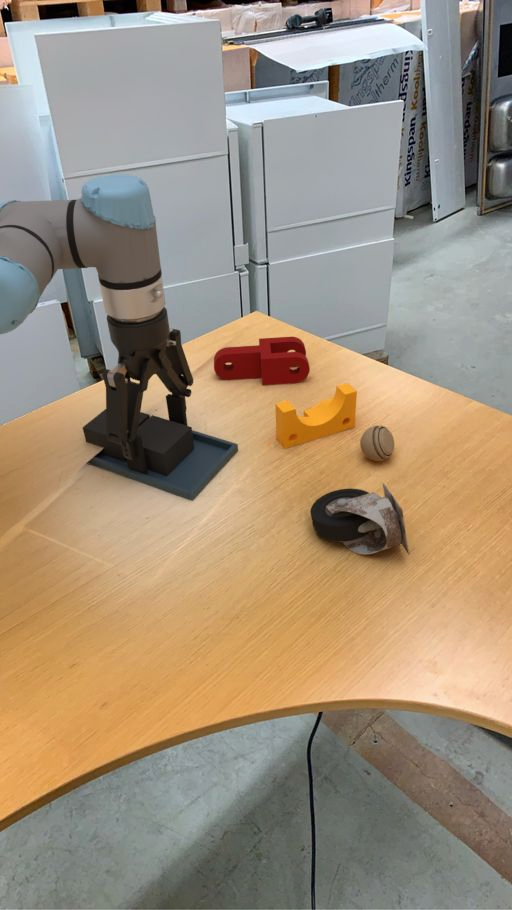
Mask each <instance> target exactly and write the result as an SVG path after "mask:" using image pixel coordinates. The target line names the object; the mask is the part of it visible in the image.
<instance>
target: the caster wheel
mask: <svg viewBox="0 0 512 910" xmlns="http://www.w3.org/2000/svg"><path fill="white" fill-rule="evenodd" d="M382 488H383V494H384V496H381V495H380V494H378V493H376V492H373V491H372V492H368V491H366V490H364V489H360V488H341V489H337V490H336V489H335V490H333V491H330V492H327V493H325V494H323V495H322V496H320V497H319V498H317V499H316V500H315V501H314V502H313V504H312V505H311V507H310V511H309V512H310V518H311V522H312V526H313V530H314V532H315V534H316V535H317V536H319V537H320V538H321V539H323V540H326V541H330V542H337V543H343V545H344V546H345V547H346V548H347V550H349V551H351V552H352V553H355V554H357V555H371V554H375V553H379V552H382V551H386V550H389V549H393V548H395V547H399V546H401V547H403V549H404V551H405V552H406V554H407V555H410V550H409V544H408V543H409V542H408V538H407V530H406V525H405V518H404V511H403V508H402V506H401V505H400V504H399V502H398V501H397V500H396V498H395V497H394V495H393V494H392V493H391V491H390V490H389V489H388V487H387V486H386V484H385V483H384V482H382Z"/></svg>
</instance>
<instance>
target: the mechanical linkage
mask: <svg viewBox="0 0 512 910" xmlns="http://www.w3.org/2000/svg"><path fill="white" fill-rule="evenodd" d="M305 345H306V344H305V343H304V342H303V340H302V339H300V338H298V337H296V336H277V337H261V338H258V344H257V345H241V346H226V347H222V348H220V349H218V350H217V351H216V353H215V355H214V357H213V369H214V370H213V371H214V373H215V375H216V376H217V377H218V378H220V379H221V380H225V381H233V380H236V381H237V380H249V379H250V380H251V379H252V380H253V379H261V385H262V386H273V385H287V384H288V385H289V384H299V383H301V382H303V381H305V380H306V379H307V378H308V376H309V374H310V371H311V370H310V369H311V367H310V364H309V360H308V358H307V350H306V347H305ZM228 363H230V364H228ZM295 367H297V368H295ZM292 368H295V369H292Z"/></svg>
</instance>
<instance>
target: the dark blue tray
mask: <svg viewBox="0 0 512 910" xmlns="http://www.w3.org/2000/svg"><path fill="white" fill-rule="evenodd" d="M192 434H193V442H194V450H193V451H192V452H191V453H190V454H189V455H188V456H187V457H186V458H185V459H184V460H183V461H182V462H181V463H180V464H179V465H178V466H177V467H176V468H175V469H174V470H173V471H172V472H171V473H170V474H169V475H168V476H165V475H162V474H159V473H156V472H153V471H150V470H147V471H148V474H147V475H145V474H143V473H140V472H137V471H134V470H131V469H129V468H128V463H127V460H126V461H125V462H124V461H121V460H118V459H115V458H112V457H109V456H106V455H104V454H101V453H99V452H98V453H96V454H95V455H94V456H93V457H92V458H90V459H89V460H88V461H87V462H86V464H87V465H90V466H94V467H96V468H99V469H102V470H105V471H108V472H110V473H113V474H116V475H119V476H121V477H125V478H127V479H130V480H132V481H136V482H138V483H141V484H143V485H147V486H149V487H151V488H155V489H158V490H161V491H164V492H166V493H169V494H171V495H175V496H178V497H180V498H183V499H186V500H189V501H191V502H192V501H195V499H196V498H197V497H198V496H199V495H200V493H202V492H203V490H205V488H206V487H207V486H208V485H209V484H210V483H211V481H212V480H213V479H214V478H215V477H216V476H217V475H218V474H219V473H220V472H221V471H222V469H223V468H224V467H225V466H226V465H227V464H228V463H229V462H230V460H232V458H233V457H234V456H236V454H237V453H238V452H239V444H238V443H236V442H232V441H229V440H226V439H223V438H220V437H216V436H214V435H213V436H212V435H209V434H206V433H203V432H200V431H196V430H193V429H192Z"/></svg>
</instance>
